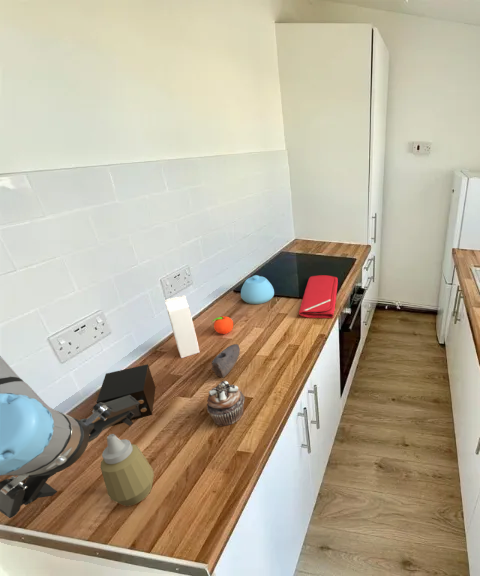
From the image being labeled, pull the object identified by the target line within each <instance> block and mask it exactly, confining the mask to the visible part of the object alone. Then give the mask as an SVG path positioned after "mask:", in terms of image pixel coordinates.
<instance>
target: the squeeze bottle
mask: <svg viewBox="0 0 480 576" xmlns="http://www.w3.org/2000/svg"><path fill="white" fill-rule="evenodd" d="M106 442H107V446H106V447H105V449H103V451H102V452H101V453H102V454H101V456H102V460H101V462H100V471H101V475H102V478H103V482H104V485H105V489H106V494H107V496H108V497H109V499H110V500H111V501H113V502H114V503H117V504H119V505H122V506H125V507H130V506H135V505H136V504H139V503H141V502H142V501H143V500H145V499H146V498H147V496H148V495H149V494H150V493H151V491H152V488H153V482H154V477H155V474H154V473H155V472H154V469H153V467H152V466H151V464H150V463H149V460H147V458H146V456H145V455H144V453H143V451H142V449H140V447H139V446H138V445H137V444H135V443H131V441H130V440H129V439H126V438H125V439H124V438H123V439H120V438H119V437H118V436H117V435H116V434H115V433H110V434H109V435H107V436H106Z"/></svg>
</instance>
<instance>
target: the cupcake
mask: <svg viewBox="0 0 480 576" xmlns="http://www.w3.org/2000/svg"><path fill="white" fill-rule="evenodd" d="M245 400H246V399H245V395H244V393H243V392H242V391H241V389H239V386H237V385H235V384H230V383H229V382H228V381H227V380H222V381H221V382H220V383H218V384H217V385H216V386H215V387H212V388H211V389H210V390H209V391H208V397H207V404H206V408H207V409H206V410H207V413H208V414H209V415H210V417H211V419H212V420H213V422H214V424H215V425H218V426H220V427H223V426H224V427H226V426H231V425H233V424H235V423H237V422H238V421H240V419H241V418H242V416H243V415H244V406H245Z"/></svg>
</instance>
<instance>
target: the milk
mask: <svg viewBox="0 0 480 576" xmlns="http://www.w3.org/2000/svg"><path fill="white" fill-rule="evenodd" d="M164 303H165V308H166V312H167V315H168V318H169V322H170V327H171V329H172V333H173V336H174V340H175V343H176V348H177V350H178V354H179V356H180V359H184V358H188V357H190V356H193V355H196V354H200V352H201V351H200V346H199V343H198V338H197V333H196V329H195V325H194V321H193V318H192V312H191V309H190V305H189V303H188V300H187V296H186V295H180V296H176V297H170V298H165V300H164Z"/></svg>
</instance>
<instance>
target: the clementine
mask: <svg viewBox="0 0 480 576" xmlns="http://www.w3.org/2000/svg"><path fill="white" fill-rule="evenodd" d="M212 322H214V323H213V329H214V330H215V332H217V334H220V335H226V334H229V333H230V332H232V331H233V328H234V320H233V319H232V318H230V317H229V316H225V315H223V316H219V317H218V316H217V317H216V318H214V319H213V320H212Z"/></svg>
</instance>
